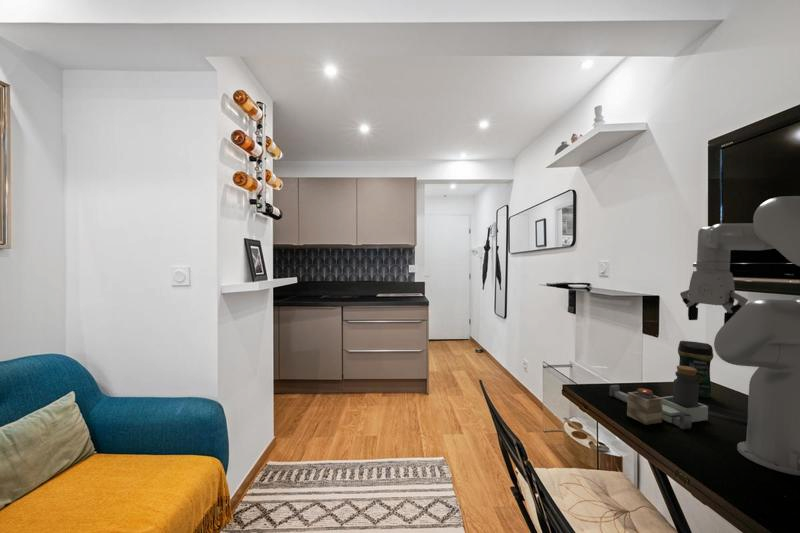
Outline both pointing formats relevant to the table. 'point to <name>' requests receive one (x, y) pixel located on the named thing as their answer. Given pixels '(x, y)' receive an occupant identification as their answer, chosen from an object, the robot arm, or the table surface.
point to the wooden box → (644, 408)
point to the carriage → (682, 410)
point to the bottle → (685, 387)
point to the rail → (681, 421)
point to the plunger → (645, 393)
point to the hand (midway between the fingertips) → (710, 322)
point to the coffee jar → (697, 363)
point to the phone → (727, 414)
